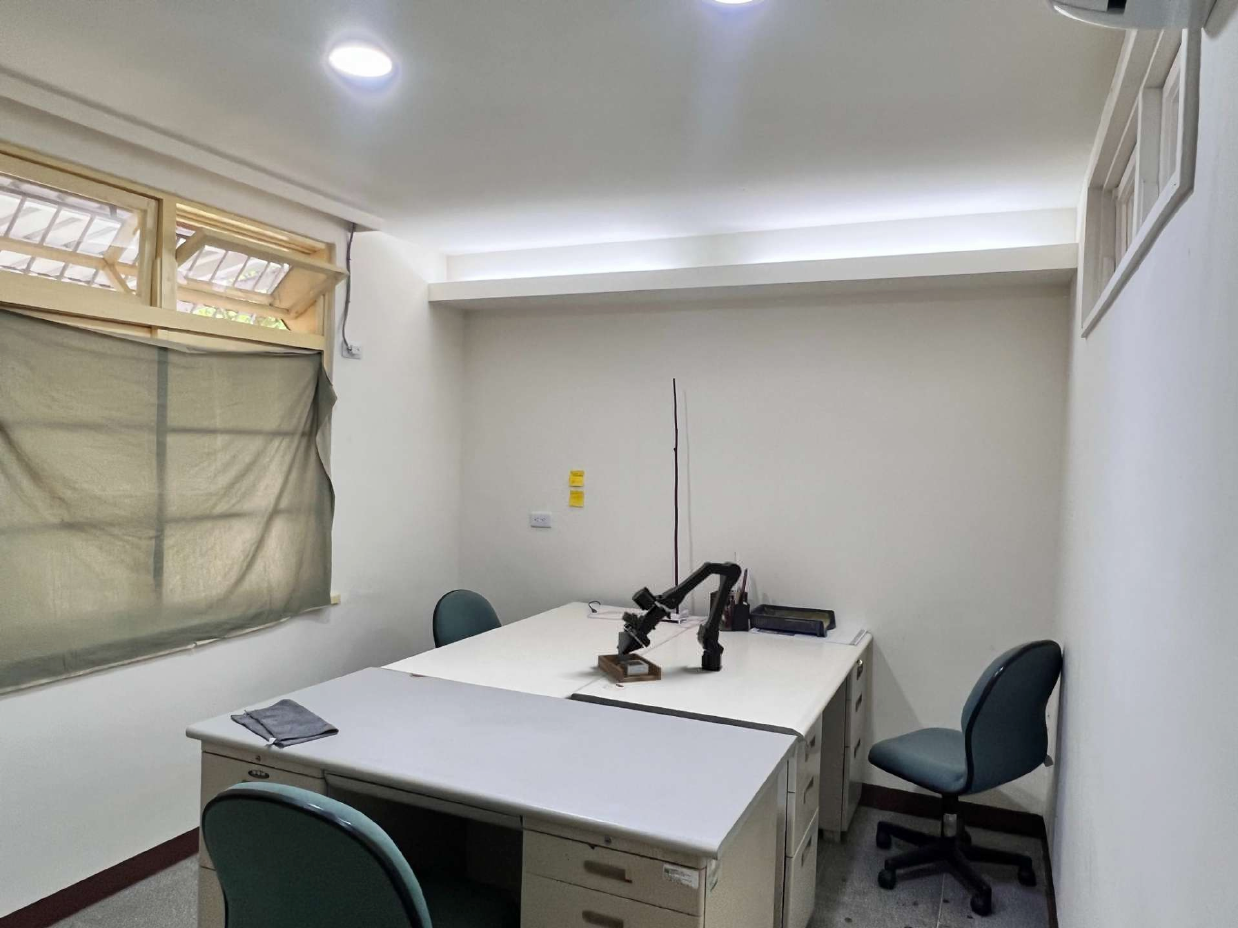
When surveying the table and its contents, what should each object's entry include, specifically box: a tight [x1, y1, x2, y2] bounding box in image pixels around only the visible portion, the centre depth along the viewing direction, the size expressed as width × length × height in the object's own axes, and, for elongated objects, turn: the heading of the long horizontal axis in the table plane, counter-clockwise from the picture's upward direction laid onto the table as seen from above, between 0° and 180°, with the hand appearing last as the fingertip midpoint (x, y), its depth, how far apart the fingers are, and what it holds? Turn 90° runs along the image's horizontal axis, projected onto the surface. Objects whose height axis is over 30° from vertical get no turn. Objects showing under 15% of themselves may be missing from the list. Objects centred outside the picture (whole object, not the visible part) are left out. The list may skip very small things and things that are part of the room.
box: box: [597, 652, 662, 684], centre depth 287 cm, size 15×23×4 cm, turn 21°
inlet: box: [620, 660, 648, 678], centre depth 283 cm, size 8×8×4 cm
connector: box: [617, 631, 630, 668], centre depth 292 cm, size 4×4×13 cm
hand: (619, 651), depth 292 cm, fingers open, 8 cm apart
